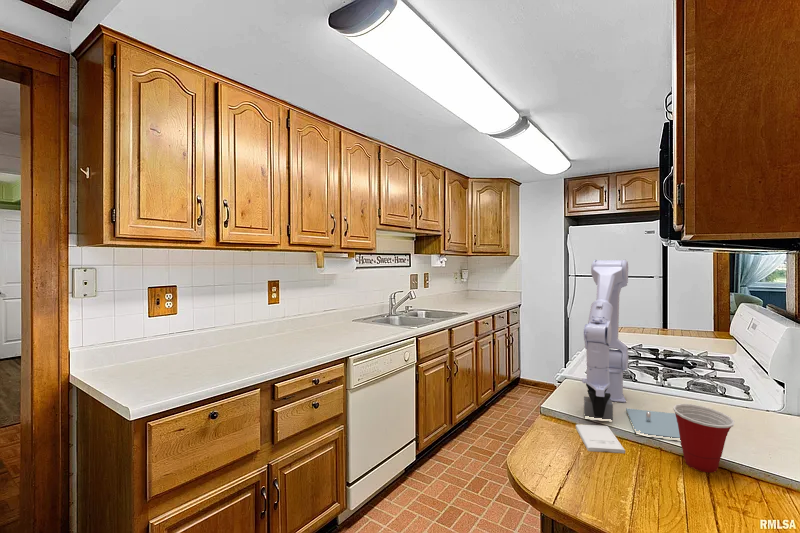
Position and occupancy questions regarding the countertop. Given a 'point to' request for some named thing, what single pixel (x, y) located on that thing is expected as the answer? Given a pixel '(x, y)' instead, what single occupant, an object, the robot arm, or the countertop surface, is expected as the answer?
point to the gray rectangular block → (589, 411)
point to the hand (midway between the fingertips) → (597, 412)
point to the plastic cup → (702, 435)
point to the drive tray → (654, 422)
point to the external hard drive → (599, 438)
